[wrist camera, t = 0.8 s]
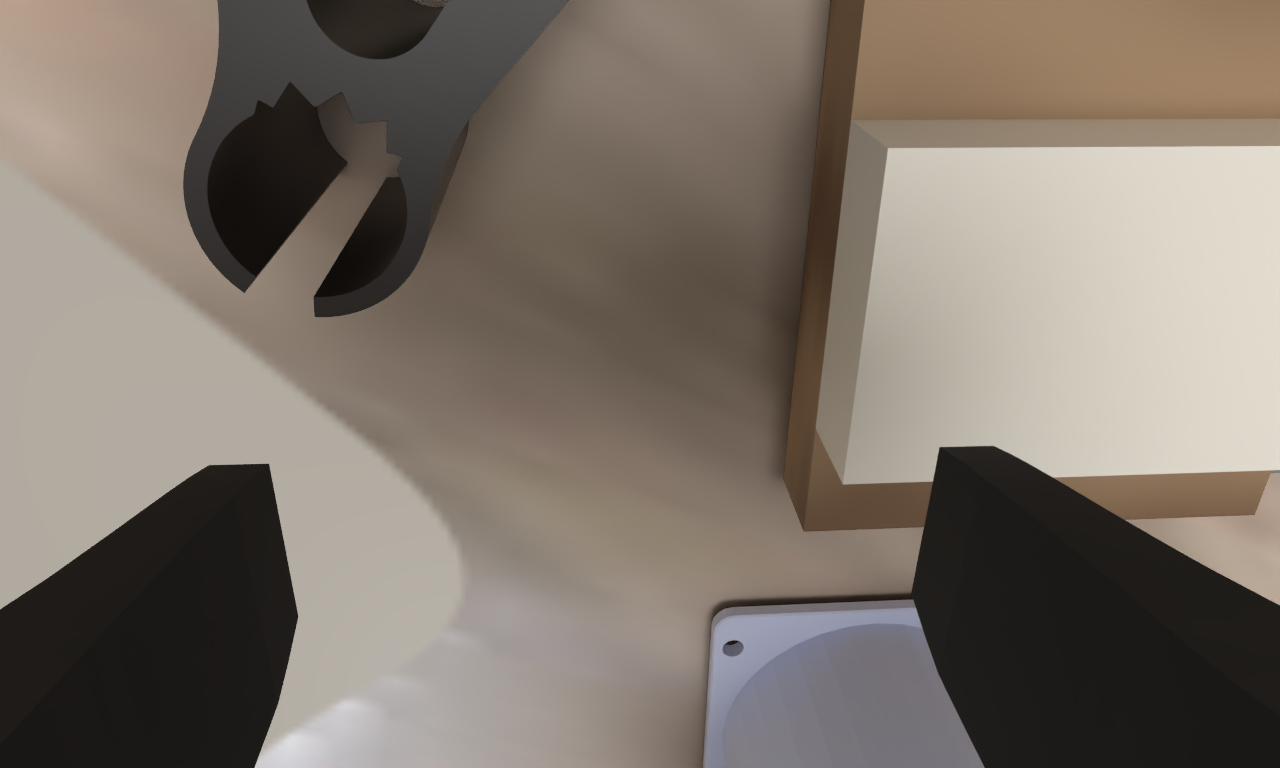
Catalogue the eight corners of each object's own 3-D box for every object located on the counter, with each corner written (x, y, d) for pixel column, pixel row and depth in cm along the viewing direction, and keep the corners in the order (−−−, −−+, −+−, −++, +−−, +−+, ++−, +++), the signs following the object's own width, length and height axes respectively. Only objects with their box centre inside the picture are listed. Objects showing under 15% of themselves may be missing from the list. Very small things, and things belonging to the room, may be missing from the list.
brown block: (1198, 465, 22) (1254, 515, 20) (783, 479, 21) (804, 531, 20) (1372, -44, 17) (1466, -38, 15) (835, -50, 16) (869, -43, 15)
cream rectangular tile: (1246, 416, 19) (1317, 468, 17) (815, 428, 19) (842, 484, 17) (1352, 118, 16) (1448, 145, 15) (850, 119, 16) (888, 148, 14)
